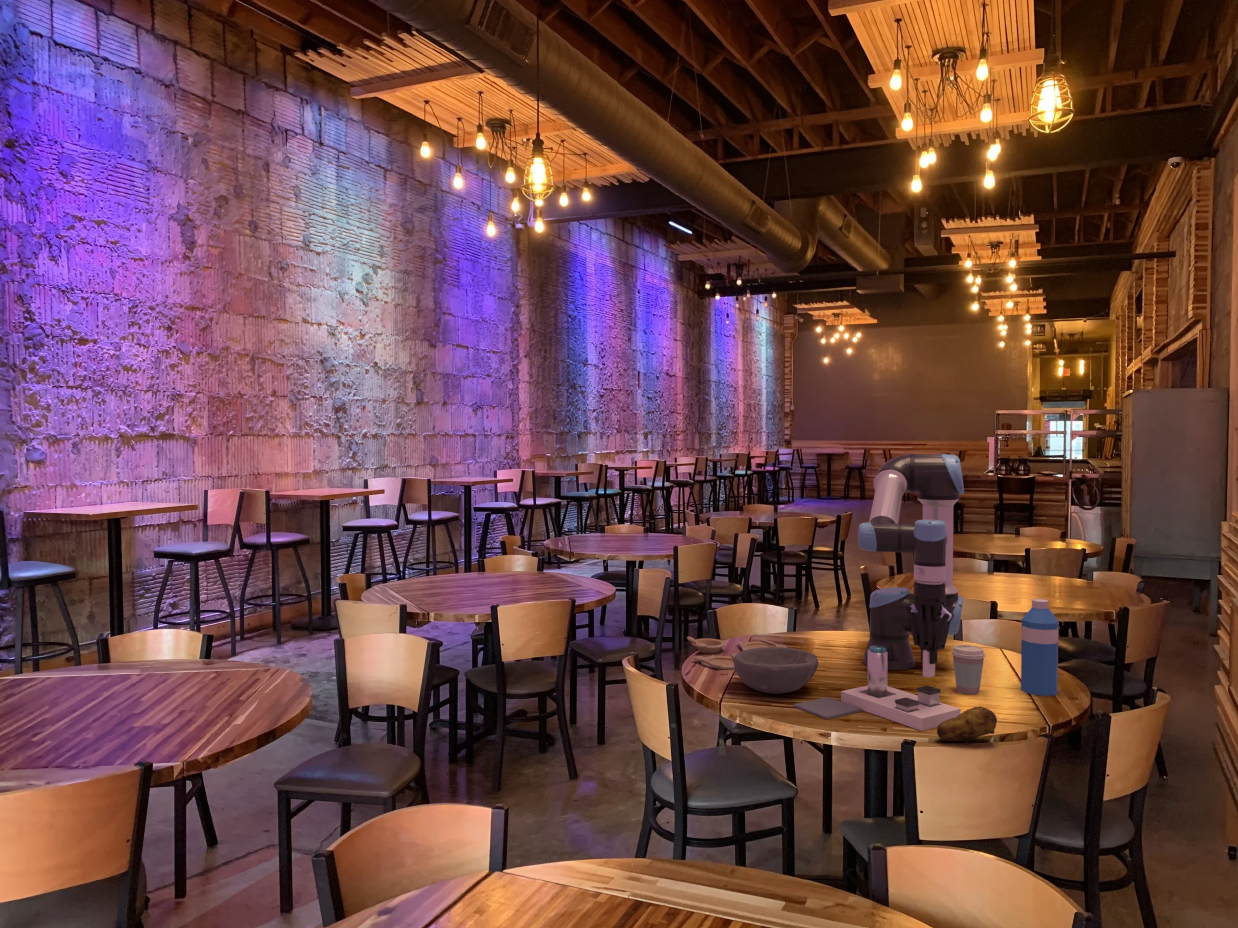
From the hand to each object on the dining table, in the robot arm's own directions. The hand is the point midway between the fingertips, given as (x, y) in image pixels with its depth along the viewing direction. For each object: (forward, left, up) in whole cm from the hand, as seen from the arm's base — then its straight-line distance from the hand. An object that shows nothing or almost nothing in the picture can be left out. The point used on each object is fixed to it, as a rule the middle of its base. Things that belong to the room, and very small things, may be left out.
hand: (928, 675), depth 215 cm
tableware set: (-71, -2, -11) cm, 72 cm away
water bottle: (+2, +43, -10) cm, 44 cm away
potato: (+17, -8, -10) cm, 21 cm away
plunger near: (0, -8, -9) cm, 12 cm away
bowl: (-37, -18, -10) cm, 43 cm away
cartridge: (-13, -4, -10) cm, 17 cm away
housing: (-6, -4, -10) cm, 12 cm away
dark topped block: (0, 0, -7) cm, 7 cm away
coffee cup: (-8, +26, -10) cm, 29 cm away
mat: (-17, -18, -10) cm, 27 cm away
